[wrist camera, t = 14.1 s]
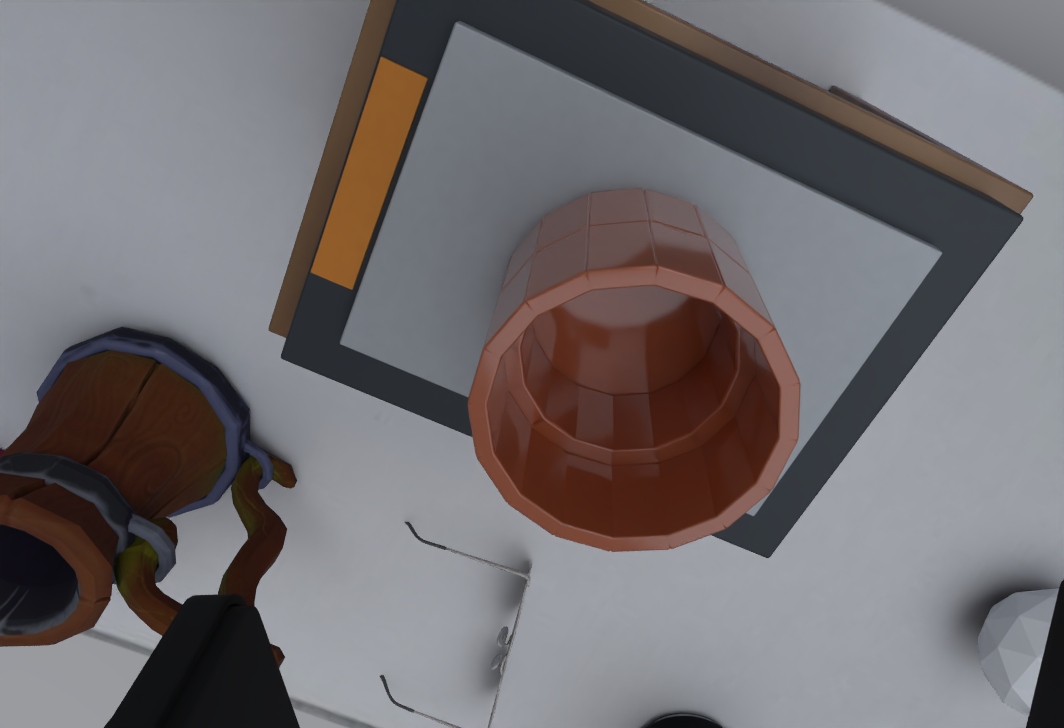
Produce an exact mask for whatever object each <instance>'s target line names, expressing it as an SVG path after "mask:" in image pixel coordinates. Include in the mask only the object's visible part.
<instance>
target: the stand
mask: <svg viewBox="0 0 1064 728" xmlns="http://www.w3.org/2000/svg"><path fill="white" fill-rule="evenodd" d="M589 1H591V2H593V3H595V4H597V5H599V6H601V7H603V8H605V9H607V10H609V11H611V12H613V13H615V14H617V15H619V16H621V17H624V18H626V19H628V20H630V21H632V22H634V23H636V24H638V25H640V26H642V27H644V28H646V29H648V30H650V31H652V32H654V33H656V34H658V35H660V36H663V37H665V38H667V39H669V40H671V41H673V42H675V43H677V44H679V45H681V46H683V47H685V48H687V49H689V50H691V51H693V52H695V53H697V54H699V55H702V56H704V57H706V58H708V59H710V60H712V61H714V62H716V63H718V64H720V65H722V66H724V67H726V68H728V69H730V70H732V71H734V72H736V73H738V74H741V75H743V76H745V77H747V78H749V79H751V80H753V81H755V82H757V83H759V84H761V85H763V86H765V87H767V88H769V89H771V90H773V91H775V92H777V93H780V94H782V95H784V96H786V97H788V98H790V99H792V100H794V101H796V102H798V103H800V104H802V105H804V106H806V107H808V108H810V109H812V110H814V111H816V112H819V113H821V114H823V115H825V116H827V117H829V118H831V119H833V120H835V121H837V122H839V123H841V124H843V125H845V126H847V127H849V128H851V129H853V130H856V131H858V132H860V133H862V134H864V135H866V136H868V137H870V138H872V139H874V140H876V141H878V142H880V143H882V144H884V145H886V146H888V147H890V148H892V149H895V150H897V151H899V152H901V153H903V154H905V155H907V156H909V157H911V158H913V159H915V160H917V161H919V162H921V163H923V164H925V165H927V166H929V167H931V168H934V169H936V170H938V171H940V172H942V173H944V174H946V175H948V176H950V177H952V178H954V179H956V180H958V181H960V182H962V183H964V184H966V185H968V186H970V187H973V188H975V189H977V190H979V191H981V192H983V193H985V194H987V195H989V196H991V197H992V198H994V199H996V200H997V201H999V202H1001V203H1002V204H1004V205H1005V206H1007V207H1009V208H1010V209H1012V210H1013V211H1015V212H1017V213H1018V214H1021V213H1022V211H1023V210H1024V209H1025V207H1026V206H1027V205H1028V203H1029V202H1030V201H1031V199H1032V198H1033V194H1032V193H1030V192H1029V191H1027V190H1025V189H1023V188H1021V187H1019V186H1018V185H1016V184H1014V183H1012V182H1010V181H1009V180H1007V179H1005V178H1003V177H1001V176H999V175H998V174H996V173H994V172H992V171H991V170H989V169H987V168H985V167H983V166H982V165H980V164H978V163H976V162H974V161H972V160H971V159H969V158H967V157H965V156H963V155H962V154H960V153H958V152H956V151H954V150H953V149H951V148H949V147H947V146H945V145H944V144H942V143H940V142H938V141H936V140H935V139H933V138H931V137H929V136H927V135H926V134H924V133H922V132H920V131H918V130H916V129H915V128H913V127H911V126H909V125H907V124H906V123H904V122H902V121H900V120H898V119H897V118H895V117H893V116H891V115H889V114H888V113H886V112H884V111H882V110H880V109H879V108H877V107H875V106H873V105H871V104H870V103H868V102H866V101H864V100H862V99H860V98H858V97H856V96H854V95H852V94H850V93H848V92H846V91H844V90H842V89H840V88H838V87H836V86H832V87H831V89H830V91H829V92H828V91H826V90H824V89H822V88H820V87H818V86H816V85H814V84H812V83H810V82H808V81H806V80H804V79H802V78H800V77H798V76H796V75H794V74H792V73H790V72H788V71H786V70H784V69H782V68H780V67H778V66H775V65H773V64H771V63H769V62H767V61H765V60H763V59H761V58H759V57H757V56H755V55H753V54H751V53H749V52H747V51H745V50H743V49H741V48H739V47H737V46H735V45H733V44H731V43H729V42H727V41H725V40H723V39H721V38H718V37H716V36H714V35H712V34H710V33H708V32H706V31H704V30H702V29H700V28H698V27H696V26H694V25H692V24H690V23H688V22H686V21H684V20H682V19H680V18H678V17H676V16H674V15H672V14H670V13H668V12H666V11H664V10H661V9H659V8H657V7H655V6H653V5H651V4H649V3H647V2H645V1H643V0H589ZM395 3H396V0H371V1H370V4H369V7H368V10H367V14H366V17H365V20H364V23H363V26H362V30H361V33H360V36H359V39H358V42H357V46H356V49H355V52H354V55H353V59H352V62H351V65H350V68H349V71H348V75H347V78H346V81H345V84H344V87H343V91H342V94H341V97H340V100H339V104H338V107H337V110H336V113H335V116H334V120H333V123H332V126H331V129H330V132H329V136H328V139H327V142H326V145H325V148H324V152H323V155H322V158H321V161H320V165H319V168H318V171H317V174H316V177H315V181H314V184H313V187H312V190H311V193H310V197H309V200H308V203H307V206H306V209H305V213H304V216H303V219H302V222H301V226H300V229H299V232H298V235H297V238H296V242H295V245H294V248H293V251H292V254H291V258H290V261H289V264H288V267H287V271H286V274H285V277H284V280H283V283H282V287H281V290H280V293H279V296H278V299H277V303H276V306H275V309H274V312H273V315H272V319H271V322H270V325H269V331H271V332H273V333H276V334H278V335H280V336H283V337H285V338H287V335H288V332H289V329H290V326H291V323H292V320H293V317H294V314H295V311H296V307H297V304H298V301H299V298H300V295H301V292H302V289H303V286H304V283H305V280H306V277H307V274H308V271H309V268H310V264H311V261H312V258H313V255H314V252H315V249H316V246H317V243H318V240H319V237H320V234H321V231H322V228H323V224H324V221H325V218H326V215H327V212H328V209H329V206H330V203H331V200H332V197H333V194H334V191H335V188H336V185H337V181H338V178H339V175H340V172H341V169H342V166H343V163H344V160H345V157H346V154H347V151H348V148H349V145H350V141H351V138H352V135H353V132H354V129H355V126H356V123H357V120H358V117H359V114H360V111H361V108H362V105H363V101H364V98H365V95H366V92H367V89H368V86H369V83H370V80H371V77H372V74H373V71H374V68H375V65H376V62H377V58H378V55H379V52H380V49H381V46H382V43H383V40H384V37H385V34H386V31H387V28H388V25H389V22H390V18H391V15H392V12H393V9H394V6H395Z"/></svg>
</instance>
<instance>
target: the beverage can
mask: <svg viewBox="0 0 1064 728" xmlns="http://www.w3.org/2000/svg"><path fill="white" fill-rule="evenodd" d="M646 728H722V727H721V726H720V725H718V724H717V723H715V722H713V721H711V720H709V719H707V718H704V717H701V716H698V715H692V714H675V715H670V716H666V717H663V718H660V719H658V720H657V721H655V722H653V723H652V724H650V725H649V726H648V727H646Z"/></svg>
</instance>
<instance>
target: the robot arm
mask: <svg viewBox="0 0 1064 728" xmlns="http://www.w3.org/2000/svg"><path fill="white" fill-rule="evenodd" d="M104 728H300V727H299V724H298V721H297V718H296V716H295V713H294V710H293V707H292V704H291V701H290V699H289V696H288V693H287V690H286V687H285V684H284V682H283V679H282V676H281V673H280V670H279V668H278V665H277V662H276V659H275V656H274V653H273V651H272V648H271V645H270V642H269V639H268V636H267V634H266V631H265V628H264V625H263V622H262V620H261V617H260V614H259V612H258V610H257V608H256V607H254V606H247V604H246V602H245V600H244V598H243V597H241V596H240V595H239V594H223V595H195V596H192V597H190V598H188V599H187V600H186V601H185V603H184V604H183V605H182V606H181V608H180V610H179V611H178V613H177V614H176V616H175V618H174V619H173V621H172V622H171V624H170V626H169V627H168V629H167V630H166V632H165V634H164V635H163V637H162V638H161V640H160V642H159V643H158V645H157V646H156V648H155V650H154V651H153V653H152V654H151V656H150V658H149V659H148V661H147V662H146V664H145V666H144V667H143V669H142V670H141V672H140V674H139V675H138V677H137V678H136V680H135V682H134V683H133V685H132V686H131V688H130V690H129V691H128V693H127V695H126V696H125V698H124V699H123V701H122V702H121V704H120V705H119V707H118V709H117V710H116V712H115V714H114V715H113V717H112V718H111V719H110V721H109V722H108V723H107V724H106V725H105V727H104ZM1026 728H1064V580H1063V581H1062V582H1061V584H1060V587H1059V591H1058V595H1057V599H1056V603H1055V608H1054V612H1053V616H1052V620H1051V624H1050V629H1049V633H1048V637H1047V641H1046V645H1045V650H1044V654H1043V658H1042V662H1041V667H1040V671H1039V675H1038V679H1037V683H1036V688H1035V692H1034V696H1033V700H1032V704H1031V709H1030V713H1029V717H1028V721H1027V726H1026Z"/></svg>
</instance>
